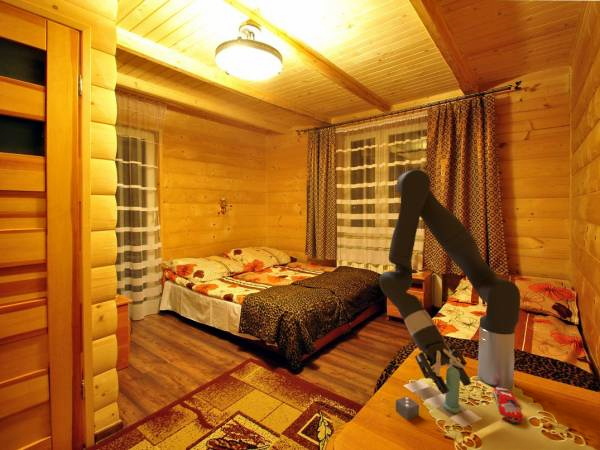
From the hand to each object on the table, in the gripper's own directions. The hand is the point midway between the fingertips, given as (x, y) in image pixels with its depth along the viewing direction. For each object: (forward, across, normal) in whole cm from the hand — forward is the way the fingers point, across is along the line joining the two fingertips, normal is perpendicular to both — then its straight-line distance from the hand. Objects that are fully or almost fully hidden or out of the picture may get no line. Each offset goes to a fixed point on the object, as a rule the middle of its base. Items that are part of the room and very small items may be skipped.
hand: (457, 388), depth 80 cm
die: (+1, -12, +9) cm, 15 cm away
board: (+1, 0, +9) cm, 9 cm away
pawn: (+3, 0, +5) cm, 6 cm away
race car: (+8, +15, +3) cm, 17 cm away
